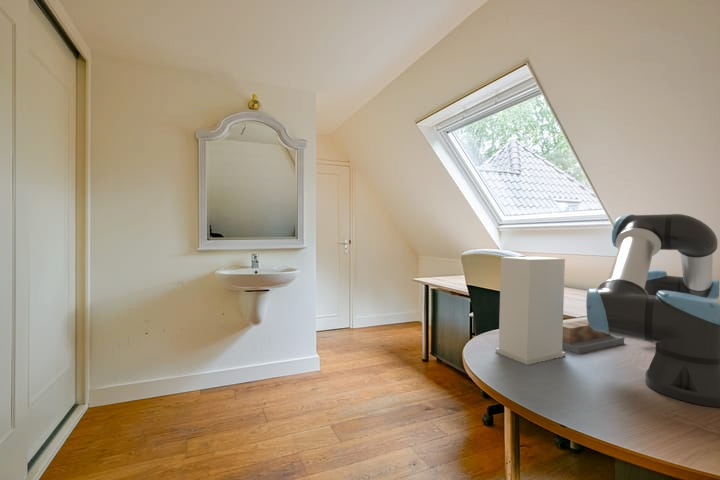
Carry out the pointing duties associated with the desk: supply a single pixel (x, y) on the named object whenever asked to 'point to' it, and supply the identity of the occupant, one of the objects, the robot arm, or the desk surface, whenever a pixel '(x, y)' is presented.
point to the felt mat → (593, 344)
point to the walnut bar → (579, 332)
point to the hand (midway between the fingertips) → (610, 315)
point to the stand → (531, 308)
